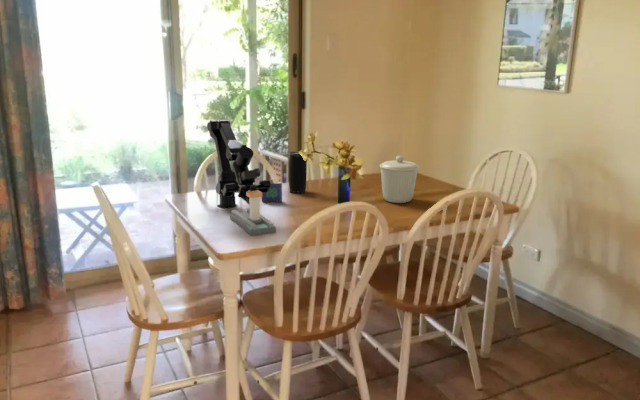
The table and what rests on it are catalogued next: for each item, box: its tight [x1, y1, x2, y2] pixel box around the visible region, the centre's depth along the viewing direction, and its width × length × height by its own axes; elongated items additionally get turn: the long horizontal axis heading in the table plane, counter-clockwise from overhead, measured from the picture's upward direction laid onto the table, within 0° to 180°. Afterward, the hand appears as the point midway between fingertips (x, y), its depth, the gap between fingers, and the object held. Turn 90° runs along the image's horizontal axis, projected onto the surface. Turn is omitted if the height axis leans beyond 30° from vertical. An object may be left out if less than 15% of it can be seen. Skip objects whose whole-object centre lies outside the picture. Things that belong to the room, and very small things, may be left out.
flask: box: [261, 178, 283, 204], centre depth 245 cm, size 9×3×11 cm, turn 95°
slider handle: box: [246, 190, 262, 224], centre depth 207 cm, size 5×5×12 cm
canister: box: [379, 155, 420, 204], centre depth 248 cm, size 18×18×21 cm
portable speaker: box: [288, 150, 308, 194], centre depth 262 cm, size 9×9×20 cm
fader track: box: [229, 207, 277, 236], centre depth 212 cm, size 24×10×3 cm, turn 28°
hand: (252, 206), depth 209 cm, fingers closed, pressing on slider handle
